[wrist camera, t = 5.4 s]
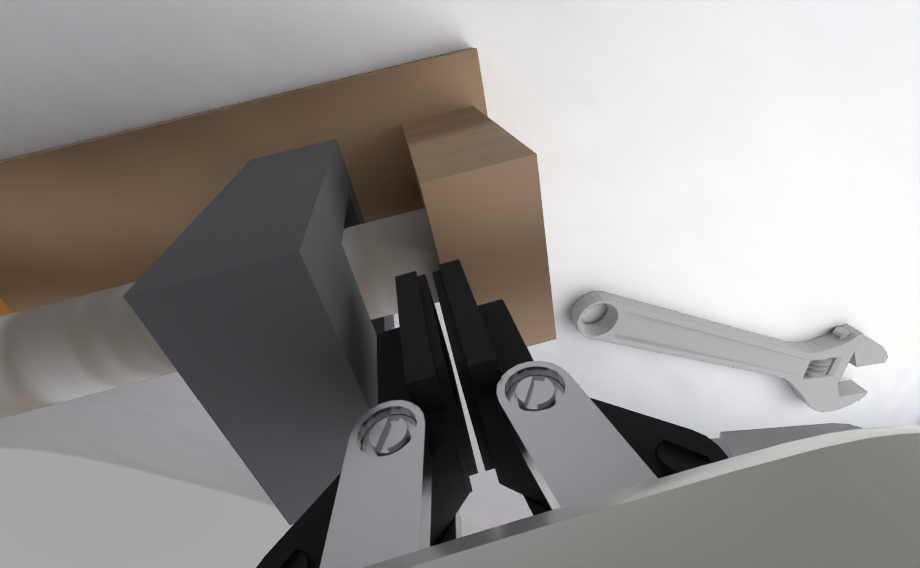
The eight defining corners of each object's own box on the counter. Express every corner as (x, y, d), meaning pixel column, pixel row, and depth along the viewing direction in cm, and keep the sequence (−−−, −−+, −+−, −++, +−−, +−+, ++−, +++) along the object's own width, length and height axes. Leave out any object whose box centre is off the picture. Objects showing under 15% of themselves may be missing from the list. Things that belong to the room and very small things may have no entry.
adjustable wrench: (557, 319, 26) (568, 337, 25) (616, 224, 24) (633, 237, 22) (820, 402, 34) (841, 419, 33) (884, 338, 32) (910, 353, 30)
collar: (250, 159, 15) (122, 296, 7) (336, 138, 15) (298, 251, 7) (323, 321, 19) (289, 525, 11) (392, 302, 19) (406, 492, 11)
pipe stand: (-366, 248, 16) (-1032, 447, 9) (471, 47, 18) (548, 61, 10) (-126, 428, 21) (-404, 651, 14) (506, 261, 23) (575, 379, 15)
